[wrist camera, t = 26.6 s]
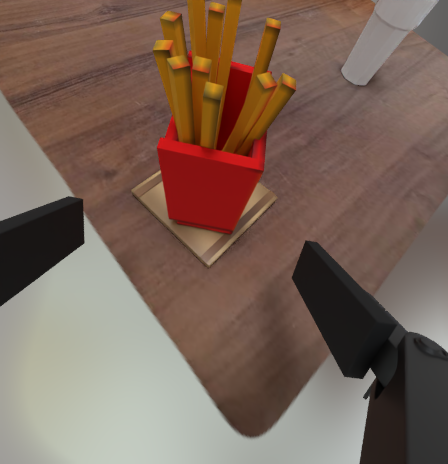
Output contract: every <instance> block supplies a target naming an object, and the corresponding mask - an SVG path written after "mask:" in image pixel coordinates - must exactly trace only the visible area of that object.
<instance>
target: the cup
mask: <svg viewBox="0 0 448 464" xmlns="http://www.w3.org/2000/svg"><path fill="white" fill-rule="evenodd" d="M438 1H439V0H378V1H377V3H376V4H375V8H374V12H373V14H372V15H371V17H370V19H369V21H368V23H367V24H366V26H365V28H364V30H363V32H362V33H361V35H360V37H359V39H358V41H357V42H356V44H355V46H354V48H353V50H352V51H351V53H350V55H349V57H348V59H347V61H346V62H345V64H344V66H343V67H342V69H341V72H342V74H343V76H344V78H345V79H347V80H348V81H350V82H352V83H353V84H355V85H366V84H367V83H368V82H369V80H370V79H371V78H372V76H373V75H374V74H375V73H376V72H377V70H378V69H379V68H380V67H381V65H382V64H383V63H384V62H385V61H386V59H387V58H388V57H389V56H390V54H391V53H392V52H393V51H394V50H395V48H396V47H397V46H398V45H399V44H400V42H401V41H402V40H403V39H404V37H405V36H406V35H407V34H408V33H409V32H410V31H411V30H412V29H414V28H416V27H417V26H418V25H419V24H420V22H421V21H422V20H423V19H424V18H425V17H426V15H427V14H428V13H429V12H430V11H431V9H432V8H433V7H434V6H435V5H436V3H437V2H438Z"/></svg>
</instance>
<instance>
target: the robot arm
mask: <svg viewBox="0 0 448 464" xmlns="http://www.w3.org/2000/svg"><path fill="white" fill-rule="evenodd" d="M83 244H84V215H83V199H80V198H75V197H69V196H68V197H66V198H63V199H60V200H58V201H55V202H52V203H49V204H46V205H44V206H41V207H38V208H35V209H33V210H30V211H27V212H24V213H22V214H19V215H16V216H13V217H11V218H8V219H5V220H3V221H0V306H2V305H3V304H4V303H5V302H7V301H8V300H9V299H11V298H12V297H14V296H15V295H16V294H18V293H19V292H20V291H22V290H23V289H24V288H26V287H27V286H28V285H30V284H31V283H32V282H34V281H35V280H36V279H38V278H39V277H40V276H41V275H43V274H44V273H45V272H47V271H48V270H49V269H51V268H52V267H53V266H55V265H56V264H57V263H59V262H60V261H61V260H63V259H64V258H65V257H67V256H68V255H69V254H70V253H72V252H73V251H74V250H76V249H77V248H79V247H80V246H81V245H83ZM292 279H293V281H294V283H295V285H296V287H297V289H298V291H299V293H300V294H301V296H302V298H303V300H304V302H305V304H306V306H307V308H308V310H309V311H310V313H311V315H312V317H313V319H314V321H315V323H316V325H317V326H318V328H319V330H320V332H321V334H322V336H323V338H324V340H325V341H326V343H327V345H328V347H329V349H330V351H331V353H332V355H333V356H334V358H335V360H336V362H337V364H338V366H339V367H340V369H341V371H342V373H343V375H344V377H351V378H359V379H363V378H364V376H365V375H366V373H367V372H368V370H369V368H371V370H372V371H373V372H374V374H375V376H376V379H375V380H374V381H373V383H372V384H371V386H370V387H369V389H368V390H367V392H366V393H365V395H364V397H363V398H365V399H367V398H368V396H370V400H369V406H368V412H367V419H366V426H365V431H364V439H363V444H362V451H361V457H360V464H448V353H447V352H446V351H445V350H444V349H443V348H442V347H441V346H439V345H438V344H437V343H435V342H434V341H432V340H430V339H429V338H427V337H425V336H423V335H420V334H418V333H413V332H407V331H406V330H405V329H404V328H403V327H402V326H401V325H400V324H399V323H398V321H396V320H395V318H394V317H392V316H391V314H389V312H388V311H385V308H383V307H382V305H381V304H379V302H378V301H377V300H376V299H375V298H374V297H373V296H372V295H371V294H369V293H368V292H366V291H365V290H363V289H362V288H361V287H360V286H359V285H358V284H357V283H356V282H355V281H354V280H353V278H352V277H351V276H350V275H349V274H348V273H347V272H346V271H345V270H344V269H343V268H342V267H341V266H340V265H339V264H338V263H337V262H336V261H335V260H334V259H333V258H332V257H331V256H330V255H329V254H328V253H327V252H326V251H325V250H324V249H323V248H322V247H321V246H320V245H319V244H318V243H317V242H312V241H305V244H304V246H303V249H302V252H301V254H300V257H299V260H298V262H297V265H296V268H295V270H294V273H293V276H292Z"/></svg>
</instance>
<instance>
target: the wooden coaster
mask: <svg viewBox="0 0 448 464" xmlns="http://www.w3.org/2000/svg"><path fill="white" fill-rule="evenodd" d="M131 192H132V194H133V195H134V196H135V197H136V198H137V199H138V200H139V201H140V202H141V203H142V204H143V205H144V206H145V207H146V208H147V209H148V210H149V211H150V212H151V213H152V214H153V215H154V216H155V217H156V218H157V219H158V220H159V221H160V222H161V223H162V224H163V225H164V226H165V227H166V228H168V229H169V230H170V231H171V232H172V233H173V234H174V235H175V236H176V237H177V238H178V239H179V240H180V241H181V242H182V243H183V244H184V245H185V246H186V247H187V248H188V249H189V250H190V251H191V252H192V253H193V254H194V255H195V256H196V257H197V258H198V259H199V260H200V261H201V262H202V263H203V264H204V265H205V266H206V267H208V268H209V267H210V266H211V265H212V264H213V263H214V262H215V261H216V260H217V259H218V258H219V257H220V256H221V255H222V254H223V253H224V252H225V251H226V250H227V249H228V248H229V247H230V246H231V245H232V244H233V243H234V242H235V241H236V240H237V239H238V238H239V237H240V236H241V235H242V234H243V233H244V232H245V231H246V230H247V229H248V228H249V227H250V226H251V225H252V224H253V223H254V222H255V221H256V220H257V219H258V218H259V217H260V216H261V215H262V214H263V213H264V212H265V211H266V210H267V209H268V208H269V207H270V206H271V205H272V204H273V203H274V202H275V201H276V199H277V197H276V196H275V194H274V193H273V192H271V191H269V190H268V189H267V188H265V187H264V186H263V185H262V184H261V183H260V182H258V183H257V185H256V187H255V189H254V191H253V193H252V195H251V197H250V199H249V201H248V203H247V205H246V207H245V209H244V211H243V213H242V215H241V217H240V219H239V221H238V223H237V225H236V227H235V229H234V231H233V233H232V234H228V233H222V232H217V231H212V230H206V229H201V228H196V227H191V226H185V225H180V224H177V221H176V220H171V219H169V217H168V211H167V205H166V199H165V193H164V187H163V181H162V175H161V170H160V171H158V172H157V173H155V174H154V175H152V176H151V177H150V178H148V179H147V180H145V181H144V182H142V183H141V184H139V185H138V186H136V187H135V188H133V189H132V190H131Z"/></svg>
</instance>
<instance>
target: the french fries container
mask: <svg viewBox="0 0 448 464" xmlns="http://www.w3.org/2000/svg"><path fill="white" fill-rule="evenodd" d="M187 2H188V14H189V26H190V38H191V50H192V51H189V54H188V55H187V48H186V41H185V34H184V28H183V21H182V14H180V13H176V12H171V11H167V12H166V13H165V14H164V15H163V16H162V17H161V18H160V21H161V26H162V31H163V35H164V40H157V41H156V43H155V46H154V48H153V53H154V56H155V59H156V62H157V66H158V69H159V72H160V75H161V79H162V82H163V85H164V89H165V92H166V95H167V98H168V102H169V105H170V108H171V111H172V117H171V121H170V124H169V127H168V130H167V133H166V136H165V138H161V137H160V140H159V143H158V146H157V151H158V157H159V163H160V169H161V175H162V181H163V187H164V193H165V199H166V205H167V211H168V217H169V219H171V220H176V221H177V224H180V225H185V226H191V227H196V228H201V229H206V230H212V231H217V232H222V233H228V234H232V233H233V231H234V229H235V227H236V225H237V223H238V221H239V219H240V217H241V215H242V213H243V211H244V209H245V207H246V205H247V203H248V201H249V199H250V197H251V195H252V193H253V191H254V189H255V187H256V185H257V183H258V181H259V179H260V177H261V175H262V173H263V171H264V162H265V150H266V137H267V129H268V128H269V126H270V125H271V124H272V122H273V121H274V120H275V118H276V117H277V115H278V114H279V113H280V111H281V110H282V109H283V107H284V106H285V105H286V103H287V102H288V100H289V99H290V98H291V96H292V95H293V94H294V92H295V91H296V80H295V79H293V78H291V77H289V76H288V75H286V74H284V73H283V74H282V75H281V77H280V78H279V80H278V82H277V83H276V82H275V80H274V78H273V77H272V72H270V71H267V70H268V67H269V63H270V60H271V57H272V54H273V51H274V48H275V45H276V42H277V38H278V35H279V32H280V28H281V21H277V20H274V19H270V18H267V21H266V24H265V28H264V32H263V36H262V40H261V43H260V47H259V51H258V55H257V58H256V62H255V66H254V67H251V66H247V65H244V64H240V63H236V62H232V61H231V60H232V54H233V48H234V43H235V37H236V31H237V26H238V20H239V14H240V8H241V3H242V0H228V2H227V10H226V17H225V24H224V32H223V39H222V46H221V38H222V30H223V21H224V13H225V6H224V5H221V4H217V3H214V2H211V4H210V7H209V13H208V27H207V41H206V22H205V0H187ZM220 46H221V54H220ZM219 54H220V58H219Z"/></svg>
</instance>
